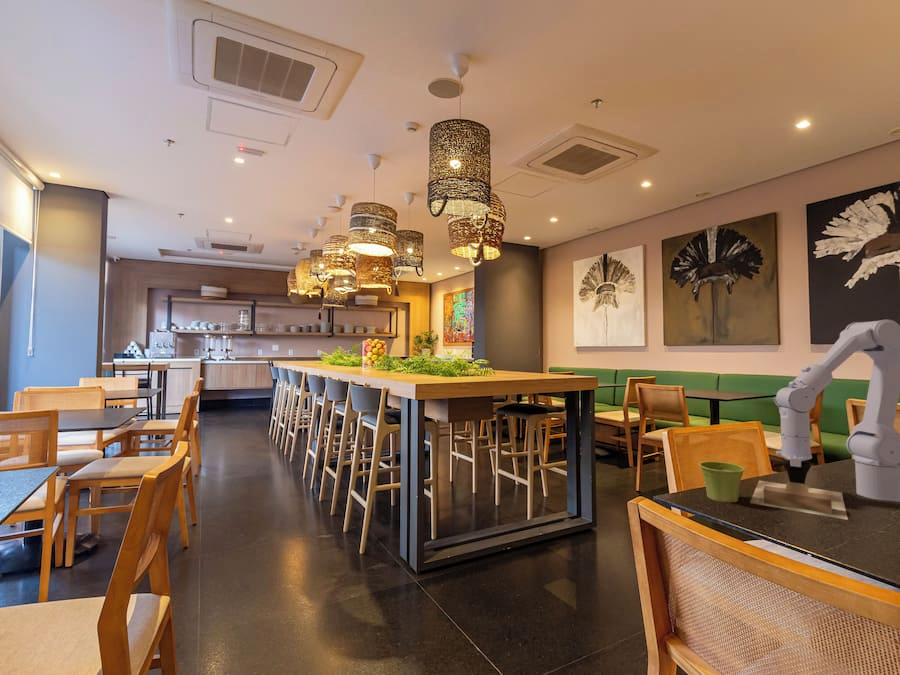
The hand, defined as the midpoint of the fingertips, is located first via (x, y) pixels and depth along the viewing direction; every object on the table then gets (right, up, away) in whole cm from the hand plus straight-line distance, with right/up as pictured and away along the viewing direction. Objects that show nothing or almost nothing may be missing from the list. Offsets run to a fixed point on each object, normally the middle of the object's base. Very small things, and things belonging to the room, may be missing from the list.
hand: (797, 490), depth 109 cm
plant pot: (-21, -2, -3) cm, 21 cm away
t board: (-2, -2, -3) cm, 4 cm away
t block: (-5, -1, -6) cm, 8 cm away
